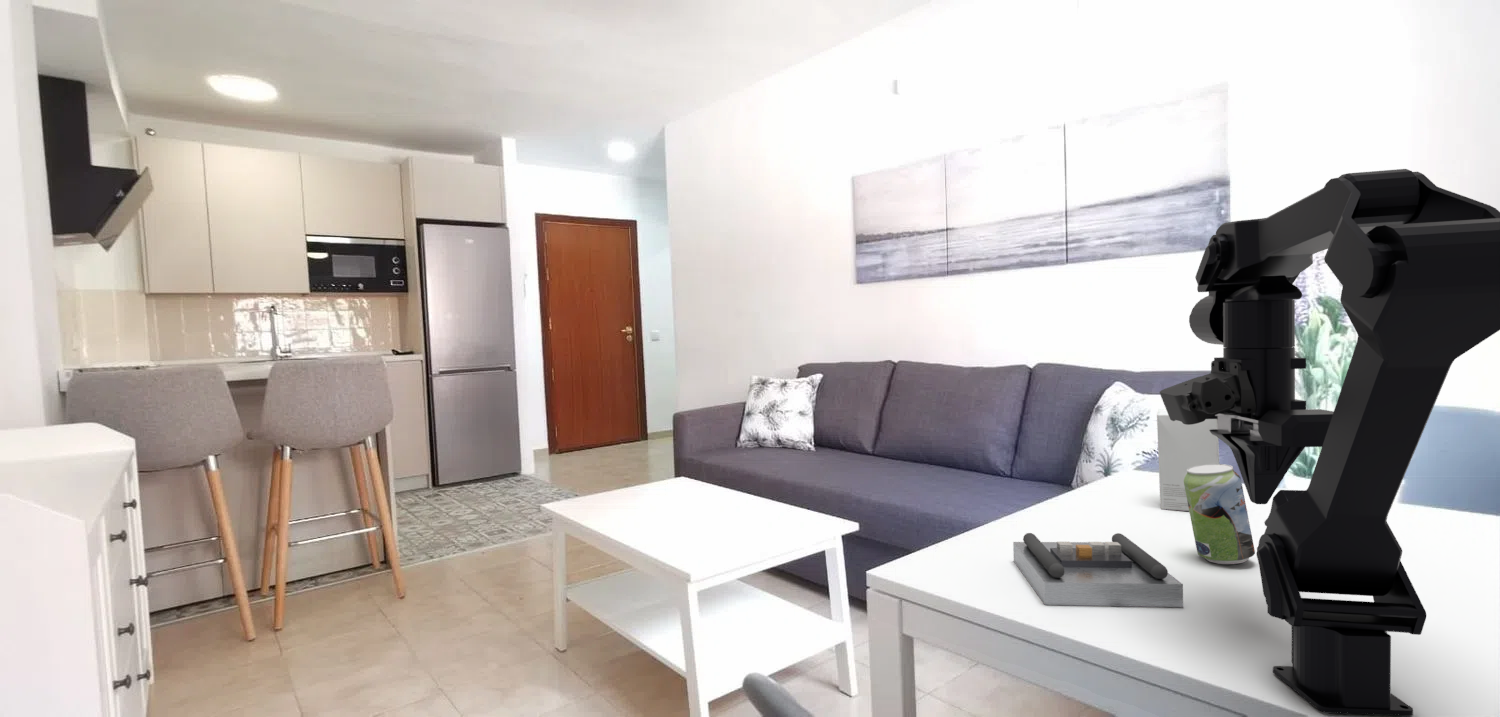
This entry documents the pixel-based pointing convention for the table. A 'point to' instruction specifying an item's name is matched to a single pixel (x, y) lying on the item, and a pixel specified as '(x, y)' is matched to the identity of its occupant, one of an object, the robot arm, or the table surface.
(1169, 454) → the skincare box
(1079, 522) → the table surface
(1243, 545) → the beverage can
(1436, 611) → the table surface
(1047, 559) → the dark grey rounded bar
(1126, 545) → the dark grey rounded rod
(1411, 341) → the robot arm
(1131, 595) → the breaker panel
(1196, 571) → the table surface
